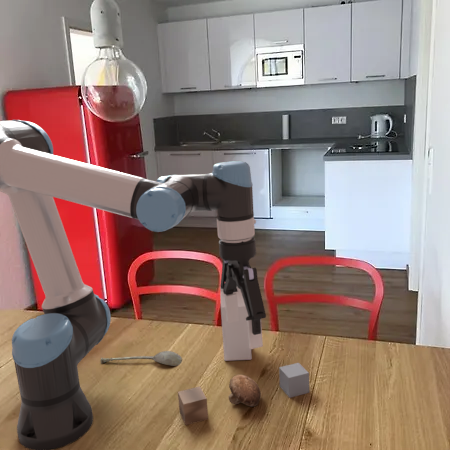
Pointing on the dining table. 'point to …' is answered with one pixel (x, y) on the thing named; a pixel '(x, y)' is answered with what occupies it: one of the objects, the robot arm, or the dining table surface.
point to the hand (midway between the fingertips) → (243, 333)
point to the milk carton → (235, 331)
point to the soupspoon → (155, 358)
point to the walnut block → (193, 405)
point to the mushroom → (244, 391)
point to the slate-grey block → (294, 380)
